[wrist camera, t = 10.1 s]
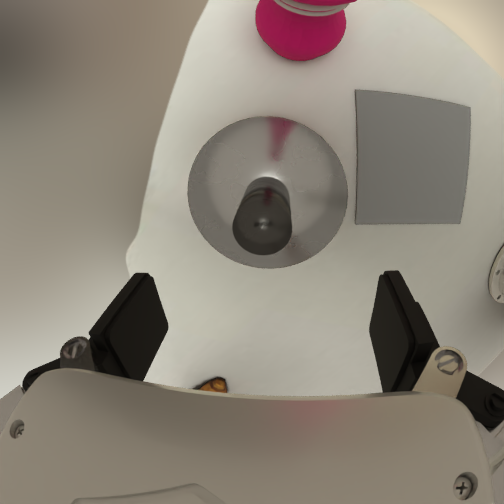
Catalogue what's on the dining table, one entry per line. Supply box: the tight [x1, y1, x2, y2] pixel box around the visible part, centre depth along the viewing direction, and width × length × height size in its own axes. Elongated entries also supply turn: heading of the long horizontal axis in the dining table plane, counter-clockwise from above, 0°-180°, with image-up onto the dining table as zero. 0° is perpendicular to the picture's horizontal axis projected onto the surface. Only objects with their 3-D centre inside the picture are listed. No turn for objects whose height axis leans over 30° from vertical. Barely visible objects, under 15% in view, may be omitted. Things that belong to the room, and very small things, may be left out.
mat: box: [355, 90, 471, 225], centre depth 25 cm, size 14×14×1 cm
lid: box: [188, 116, 348, 269], centre depth 20 cm, size 13×13×7 cm
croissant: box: [198, 378, 227, 393], centre depth 45 cm, size 14×7×5 cm, turn 157°
